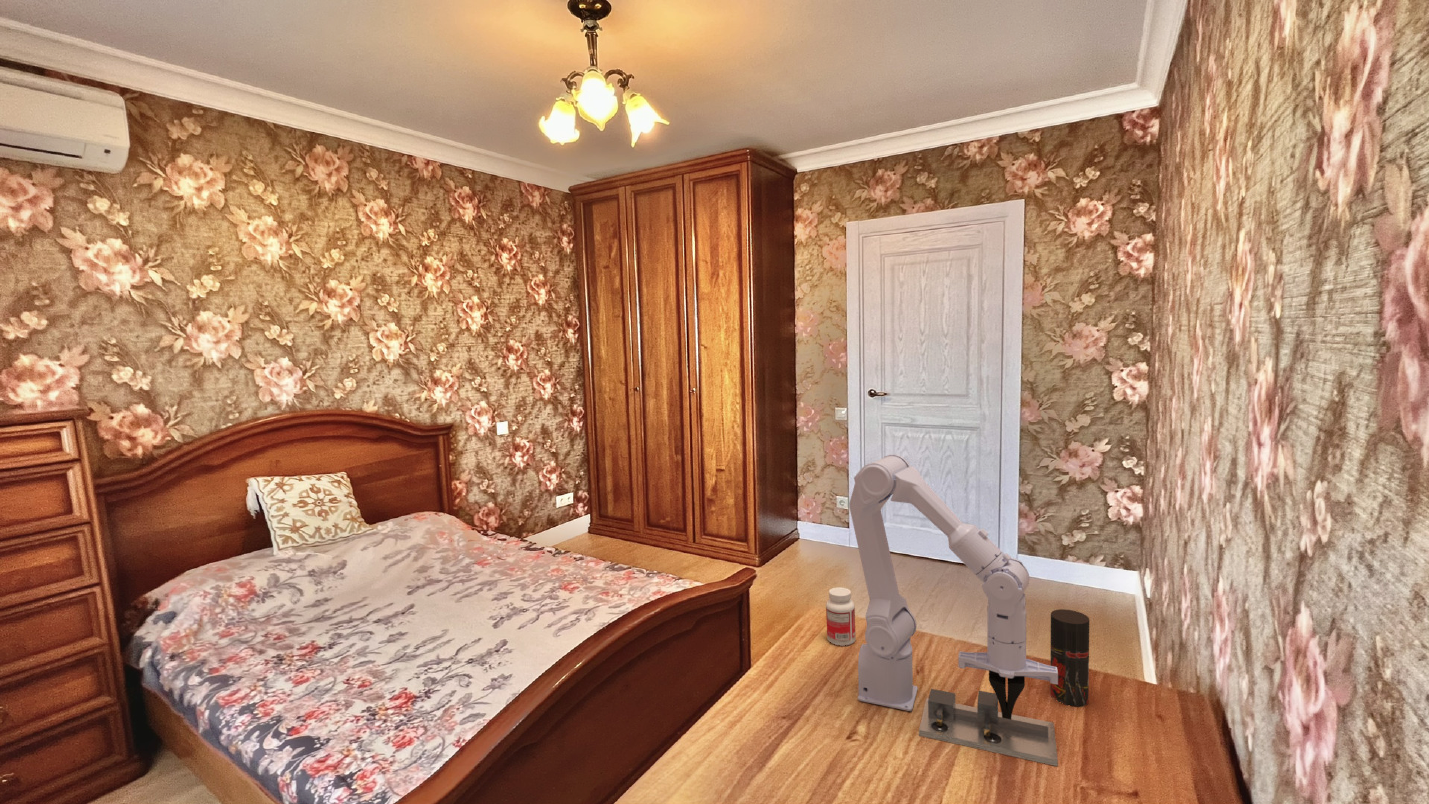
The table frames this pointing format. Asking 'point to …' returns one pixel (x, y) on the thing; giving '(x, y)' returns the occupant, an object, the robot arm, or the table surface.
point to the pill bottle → (840, 617)
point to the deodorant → (1070, 657)
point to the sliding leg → (987, 710)
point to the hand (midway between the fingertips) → (1006, 715)
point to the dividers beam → (974, 715)
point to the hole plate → (993, 737)
